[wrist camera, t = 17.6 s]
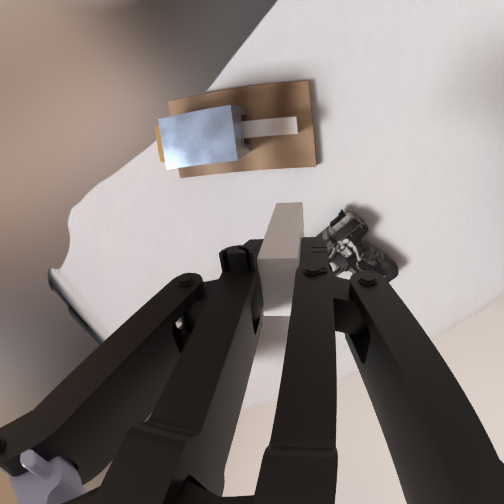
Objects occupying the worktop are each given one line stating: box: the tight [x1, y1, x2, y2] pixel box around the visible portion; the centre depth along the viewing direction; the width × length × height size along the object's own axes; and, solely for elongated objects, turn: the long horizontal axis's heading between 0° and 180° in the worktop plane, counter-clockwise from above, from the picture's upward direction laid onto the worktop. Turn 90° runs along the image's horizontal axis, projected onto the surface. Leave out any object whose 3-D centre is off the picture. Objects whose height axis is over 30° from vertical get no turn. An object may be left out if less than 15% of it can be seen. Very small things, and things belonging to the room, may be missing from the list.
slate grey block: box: [158, 105, 251, 170], centre depth 34 cm, size 9×6×8 cm
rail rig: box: [155, 81, 316, 178], centre depth 35 cm, size 20×12×6 cm, turn 97°
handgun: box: [316, 209, 398, 282], centre depth 44 cm, size 20×3×14 cm
